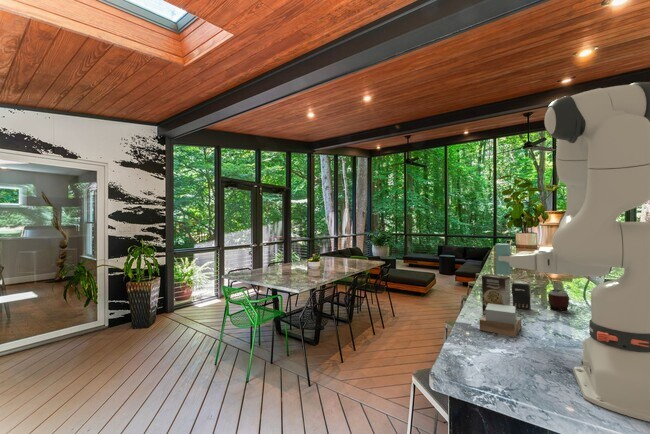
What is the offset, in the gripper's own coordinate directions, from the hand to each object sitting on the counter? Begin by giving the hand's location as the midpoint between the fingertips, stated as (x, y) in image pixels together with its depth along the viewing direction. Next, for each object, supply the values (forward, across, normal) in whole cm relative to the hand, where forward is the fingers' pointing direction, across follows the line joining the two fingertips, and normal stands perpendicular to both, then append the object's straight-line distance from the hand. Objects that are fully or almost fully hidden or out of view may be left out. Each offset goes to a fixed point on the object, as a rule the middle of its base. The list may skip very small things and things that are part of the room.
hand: (500, 257), depth 110 cm
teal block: (-1, 0, +6) cm, 6 cm away
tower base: (0, +2, +26) cm, 26 cm away
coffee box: (+6, -15, +26) cm, 30 cm away
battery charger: (0, -31, +26) cm, 40 cm away
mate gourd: (-12, -39, +26) cm, 48 cm away
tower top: (0, +2, +22) cm, 22 cm away
